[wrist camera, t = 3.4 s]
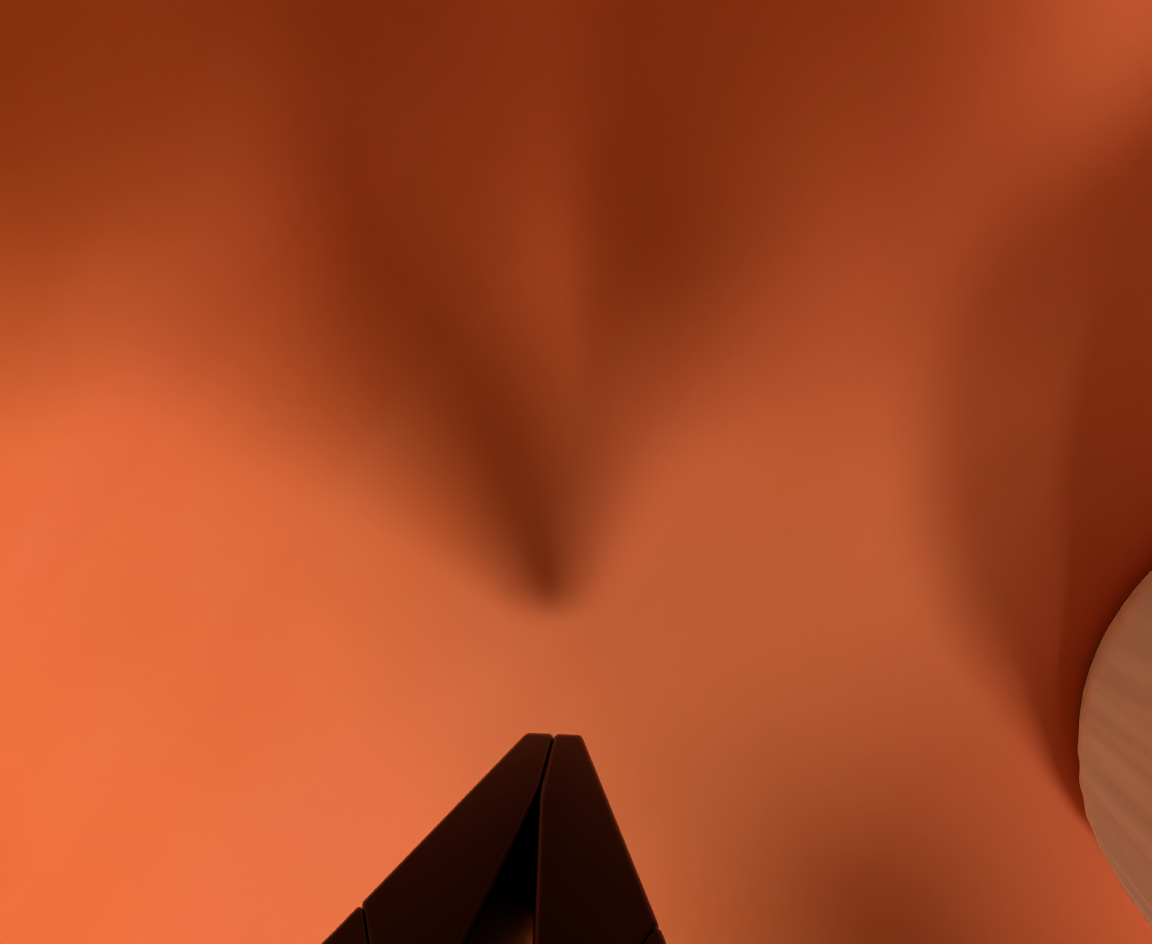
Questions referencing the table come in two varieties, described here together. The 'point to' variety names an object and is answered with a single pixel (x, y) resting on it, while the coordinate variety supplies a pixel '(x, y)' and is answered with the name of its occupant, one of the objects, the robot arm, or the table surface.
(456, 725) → the table surface
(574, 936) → the robot arm
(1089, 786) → the ramekin
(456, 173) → the table surface
